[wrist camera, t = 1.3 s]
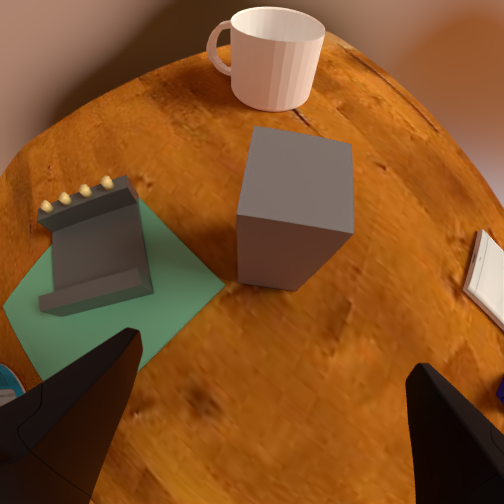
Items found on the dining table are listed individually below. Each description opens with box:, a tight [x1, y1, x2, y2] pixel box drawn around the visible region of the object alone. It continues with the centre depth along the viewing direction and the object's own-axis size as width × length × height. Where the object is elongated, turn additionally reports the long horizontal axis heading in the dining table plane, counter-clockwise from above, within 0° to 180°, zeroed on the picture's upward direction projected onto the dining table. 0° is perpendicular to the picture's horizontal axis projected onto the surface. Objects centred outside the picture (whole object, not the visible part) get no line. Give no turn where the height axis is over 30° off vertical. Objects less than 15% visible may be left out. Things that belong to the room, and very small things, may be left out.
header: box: [37, 175, 154, 317], centre depth 19 cm, size 9×9×4 cm
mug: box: [207, 7, 325, 112], centre depth 25 cm, size 12×9×9 cm
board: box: [3, 198, 225, 381], centre depth 20 cm, size 18×14×1 cm
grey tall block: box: [237, 126, 354, 291], centre depth 17 cm, size 5×4×12 cm
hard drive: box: [463, 229, 504, 331], centre depth 22 cm, size 2×8×12 cm
